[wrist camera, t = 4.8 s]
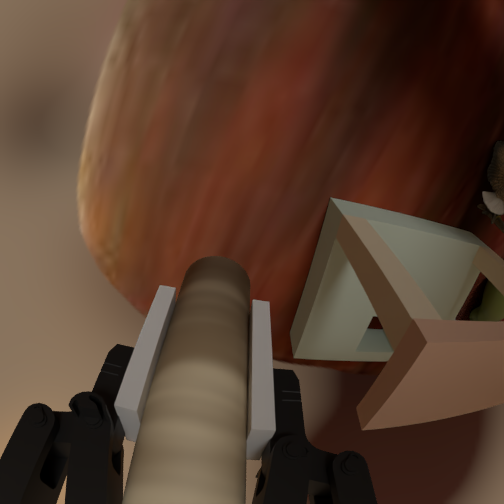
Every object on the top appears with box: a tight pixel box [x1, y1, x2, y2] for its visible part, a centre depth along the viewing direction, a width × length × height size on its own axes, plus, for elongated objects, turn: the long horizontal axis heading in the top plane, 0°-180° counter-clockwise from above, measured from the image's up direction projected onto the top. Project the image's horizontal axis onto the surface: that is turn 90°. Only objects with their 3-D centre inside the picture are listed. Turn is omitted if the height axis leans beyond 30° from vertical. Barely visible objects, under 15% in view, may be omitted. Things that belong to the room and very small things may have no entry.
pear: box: [469, 280, 504, 322], centre depth 31 cm, size 6×5×10 cm
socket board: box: [290, 198, 489, 361], centre depth 29 cm, size 16×18×4 cm
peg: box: [122, 256, 250, 504], centre depth 11 cm, size 4×4×14 cm
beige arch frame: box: [336, 214, 504, 430], centre depth 19 cm, size 6×19×14 cm, turn 80°
